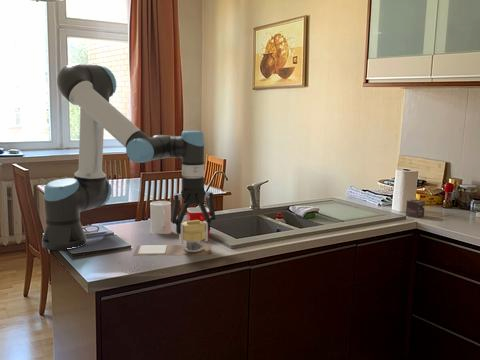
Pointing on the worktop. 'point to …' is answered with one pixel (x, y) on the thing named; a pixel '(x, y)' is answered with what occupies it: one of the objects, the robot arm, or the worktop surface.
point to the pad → (152, 249)
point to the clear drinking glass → (193, 247)
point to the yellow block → (194, 230)
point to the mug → (160, 217)
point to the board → (177, 251)
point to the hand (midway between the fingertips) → (193, 241)
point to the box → (415, 208)
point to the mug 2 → (196, 215)
